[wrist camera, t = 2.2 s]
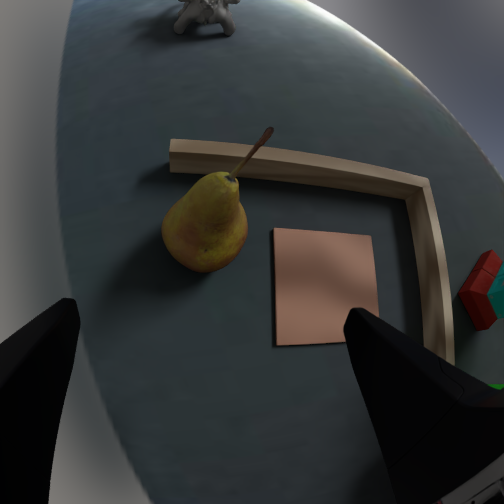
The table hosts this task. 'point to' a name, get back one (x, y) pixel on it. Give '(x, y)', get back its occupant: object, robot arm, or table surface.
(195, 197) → the fruit
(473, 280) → the toy robot
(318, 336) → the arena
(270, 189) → the table surface
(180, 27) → the elephant statuette
